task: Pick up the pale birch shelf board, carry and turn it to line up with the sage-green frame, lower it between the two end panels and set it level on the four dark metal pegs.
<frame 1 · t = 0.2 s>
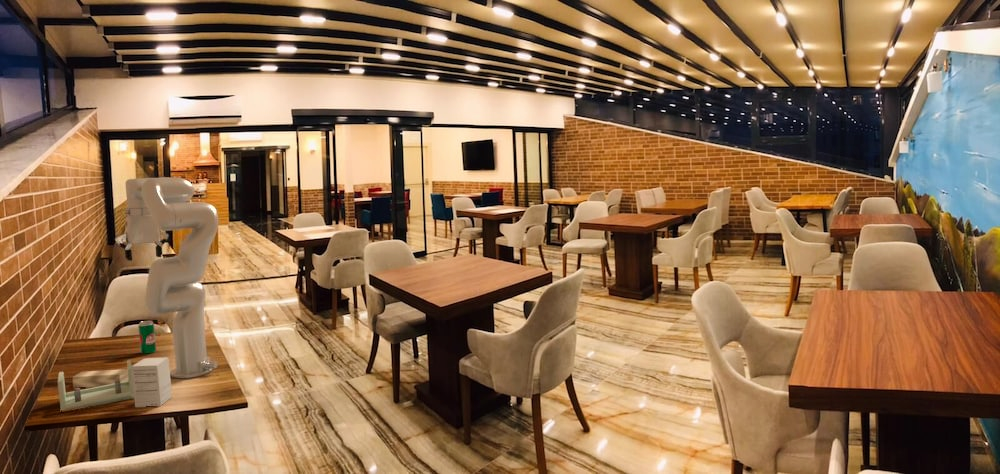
hand: (144, 258, 208), 37 cm above the table, tool pointing down, fingers open, 9 cm apart
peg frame: (99, 398, 171), on the table
soda can: (148, 352, 216), on the table
shelf board: (101, 384, 183), on the table
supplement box: (154, 402, 168), on the table
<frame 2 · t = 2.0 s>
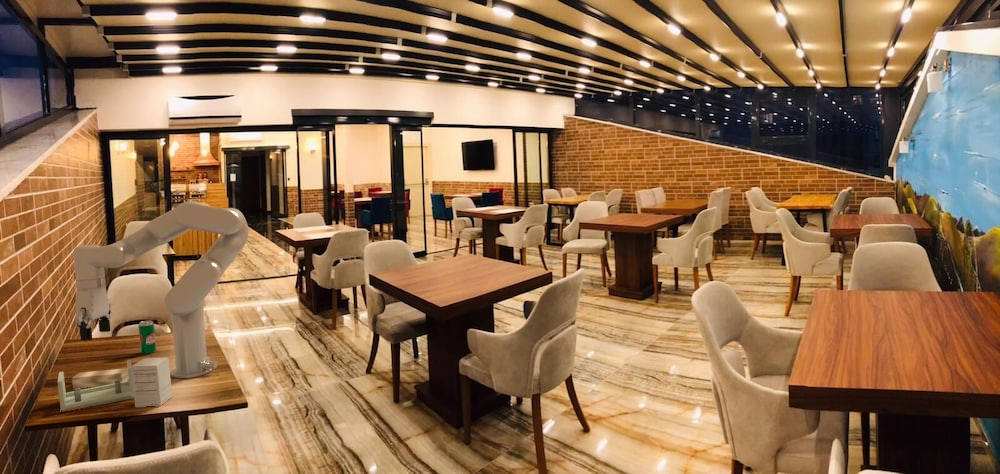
hand: (96, 335, 182), 16 cm above the table, tool pointing down, fingers open, 9 cm apart
nothing on the table moved.
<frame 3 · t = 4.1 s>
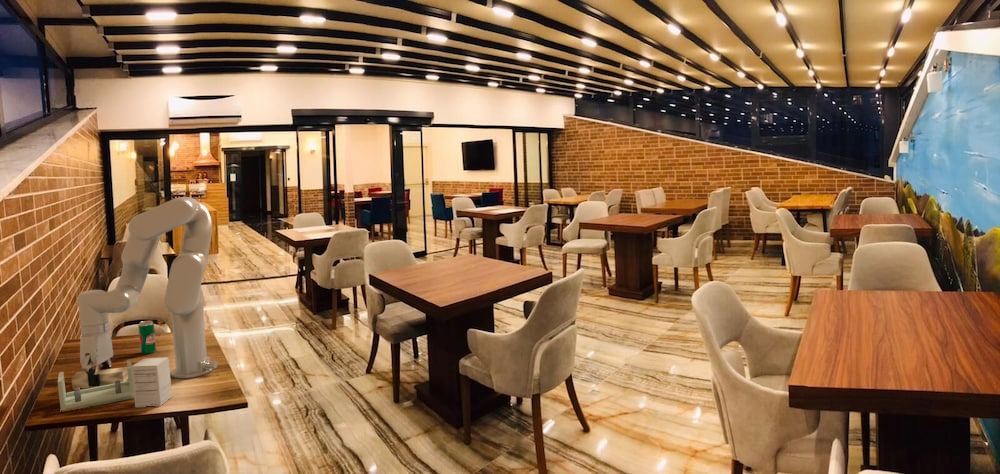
hand: (100, 381, 183), 1 cm above the table, tool pointing down, fingers closed on shelf board, 5 cm apart
shelf board: (101, 383, 183), on the table, touching gripper
everything else where it was.
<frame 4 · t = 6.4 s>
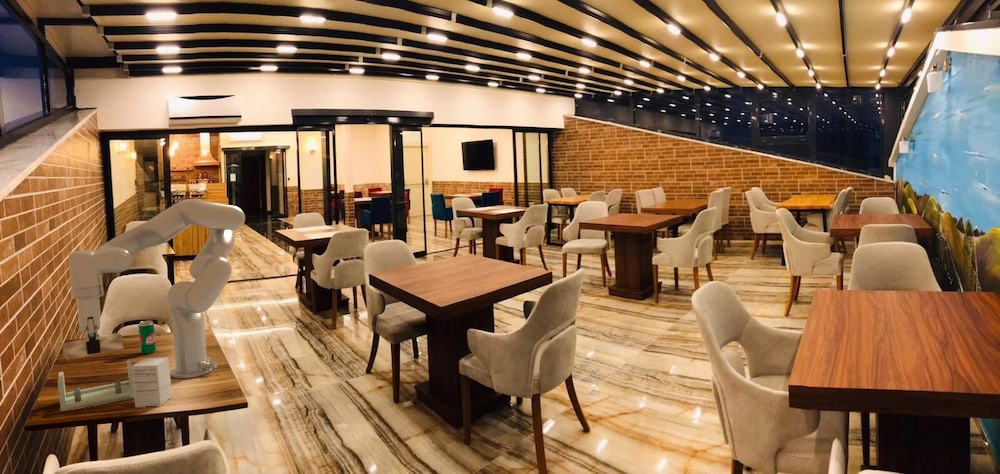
hand: (94, 350, 169), 15 cm above the table, tool pointing down, fingers closed on shelf board, 5 cm apart
shelf board: (94, 352, 169), point 15 cm above the table, touching gripper
everything else where it was.
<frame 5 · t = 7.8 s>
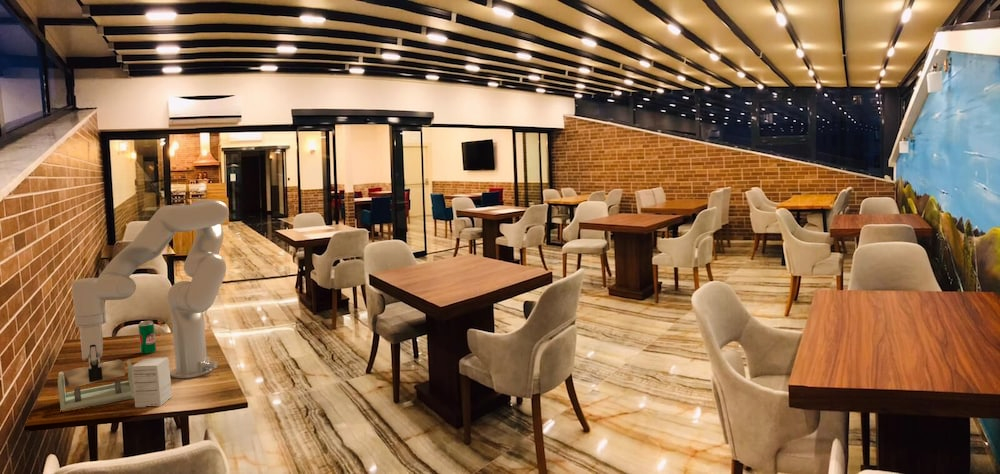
hand: (95, 377, 170), 7 cm above the table, tool pointing down, fingers closed on shelf board, 5 cm apart
shelf board: (96, 379, 170), point 6 cm above the table, touching gripper
everything else where it was.
when the fingers open (5 cm above the table, at t = 8.9 s): shelf board stays where it is, resting on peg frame.
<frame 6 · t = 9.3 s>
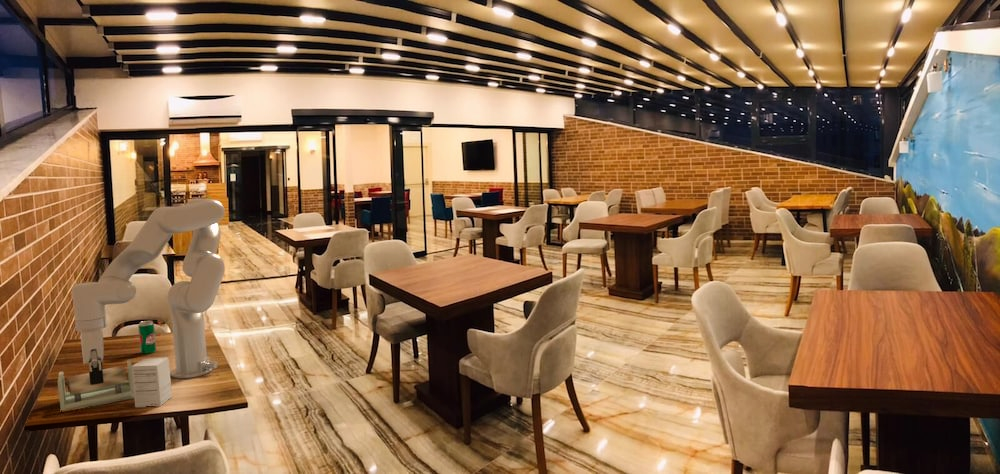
hand: (96, 379, 170), 6 cm above the table, tool pointing down, fingers open, 9 cm apart
shelf board: (98, 386, 171), point 4 cm above the table, touching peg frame
everything else where it was.
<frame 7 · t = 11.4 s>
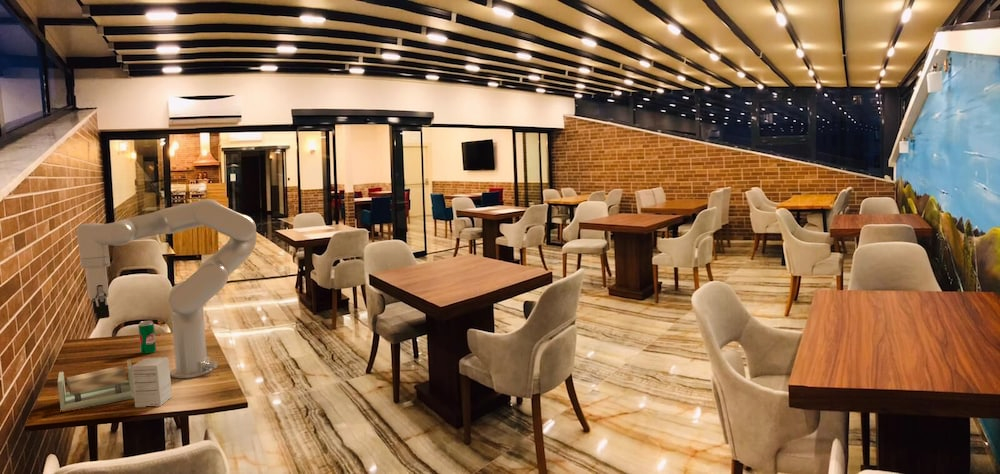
hand: (101, 315, 179), 23 cm above the table, tool pointing down, fingers open, 9 cm apart
nothing on the table moved.
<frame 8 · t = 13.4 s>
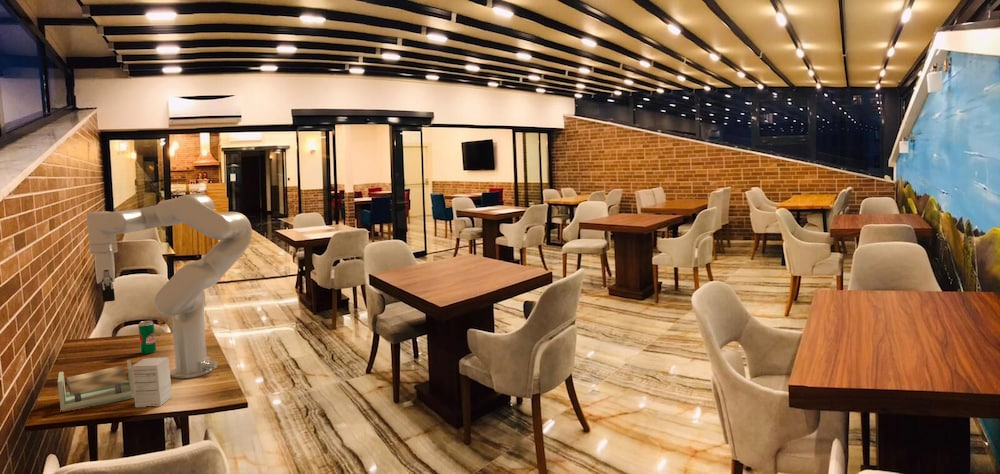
hand: (108, 298, 189), 26 cm above the table, tool pointing down, fingers open, 9 cm apart
nothing on the table moved.
at the end: shelf board 0.1 cm off-centre on the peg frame, point 4.0 cm above the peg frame's base; shelf board tilted 0°; the gripper is holding nothing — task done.
